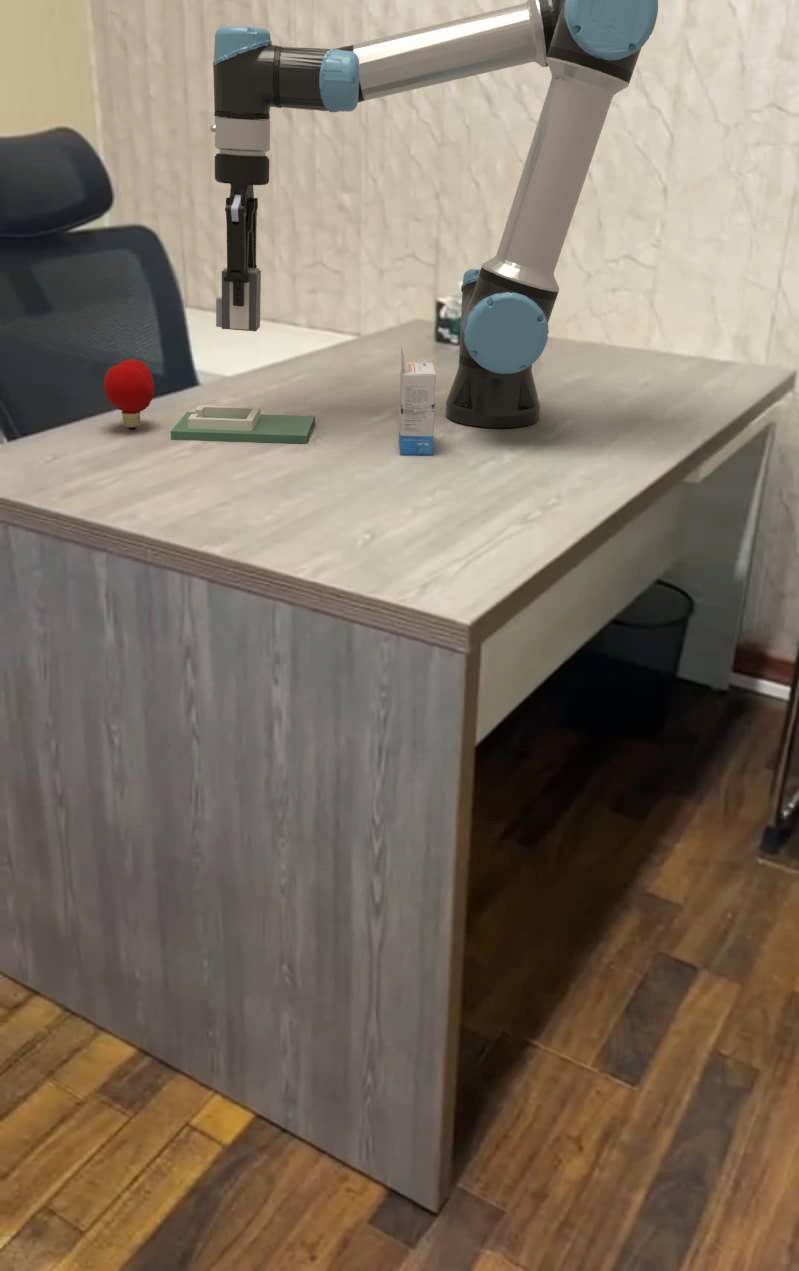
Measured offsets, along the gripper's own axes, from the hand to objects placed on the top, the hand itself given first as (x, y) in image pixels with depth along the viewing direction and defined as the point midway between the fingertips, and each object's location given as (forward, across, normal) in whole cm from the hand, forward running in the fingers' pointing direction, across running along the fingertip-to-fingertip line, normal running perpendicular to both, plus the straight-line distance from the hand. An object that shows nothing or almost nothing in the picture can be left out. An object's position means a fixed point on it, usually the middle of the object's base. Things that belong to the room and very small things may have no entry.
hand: (242, 325), depth 170 cm
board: (+16, 0, 0) cm, 16 cm away
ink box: (+15, +6, +26) cm, 31 cm away
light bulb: (+16, +1, -16) cm, 23 cm away
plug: (0, 0, 0) cm, 0 cm away
